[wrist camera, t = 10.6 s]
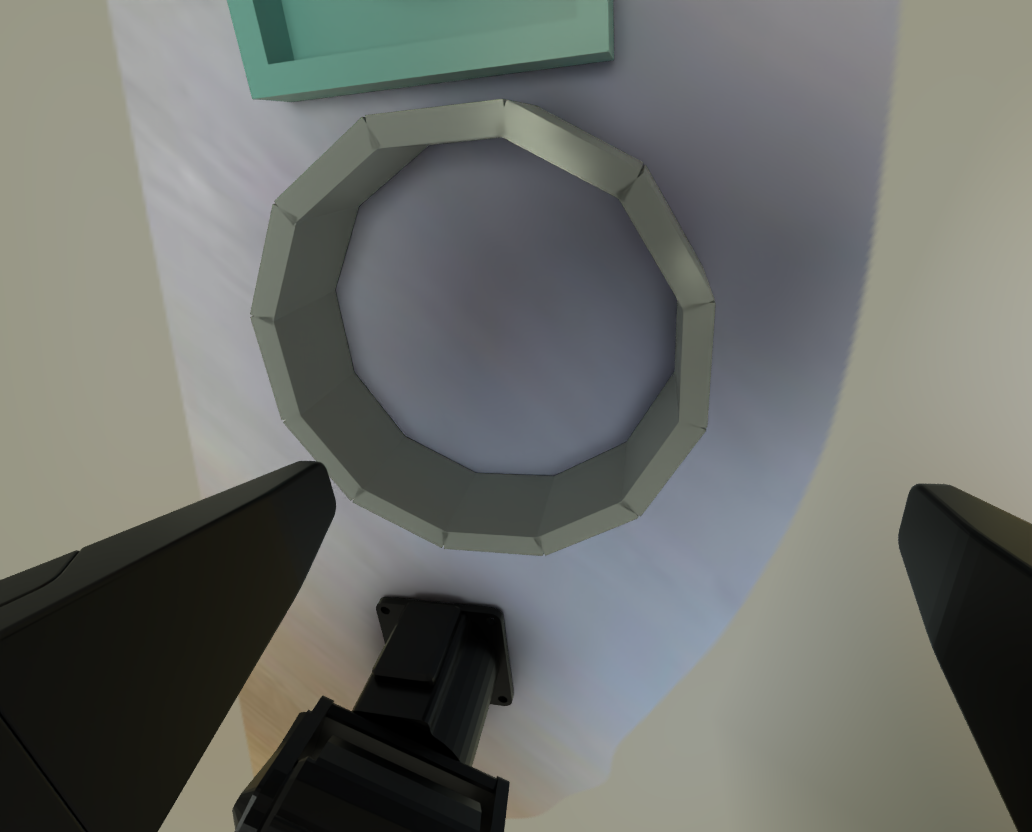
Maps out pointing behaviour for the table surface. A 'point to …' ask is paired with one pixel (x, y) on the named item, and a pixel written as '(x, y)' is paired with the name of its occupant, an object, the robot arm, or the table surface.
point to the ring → (363, 422)
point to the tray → (409, 42)
